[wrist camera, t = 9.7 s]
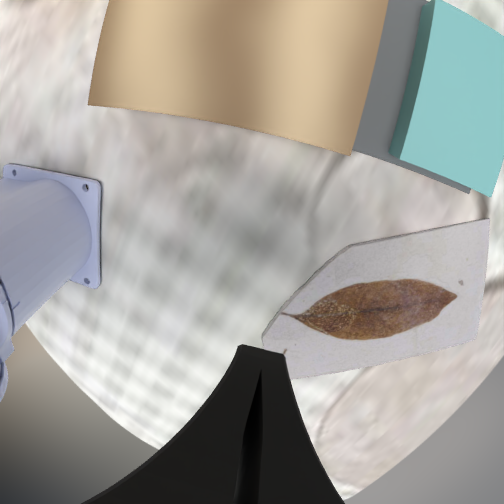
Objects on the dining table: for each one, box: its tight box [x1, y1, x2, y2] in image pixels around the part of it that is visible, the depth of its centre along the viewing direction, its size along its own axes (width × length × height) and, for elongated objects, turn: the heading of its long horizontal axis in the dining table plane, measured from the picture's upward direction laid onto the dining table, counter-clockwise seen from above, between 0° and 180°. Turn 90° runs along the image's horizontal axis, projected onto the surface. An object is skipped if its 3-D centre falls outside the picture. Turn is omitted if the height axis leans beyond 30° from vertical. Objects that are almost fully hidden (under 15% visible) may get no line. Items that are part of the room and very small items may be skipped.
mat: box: [352, 0, 471, 194], centre depth 14 cm, size 8×10×1 cm
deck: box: [88, 0, 389, 156], centre depth 12 cm, size 12×10×4 cm
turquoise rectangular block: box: [388, 0, 504, 197], centre depth 13 cm, size 6×9×2 cm, turn 168°
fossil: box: [262, 218, 490, 380], centre depth 20 cm, size 16×1×10 cm
